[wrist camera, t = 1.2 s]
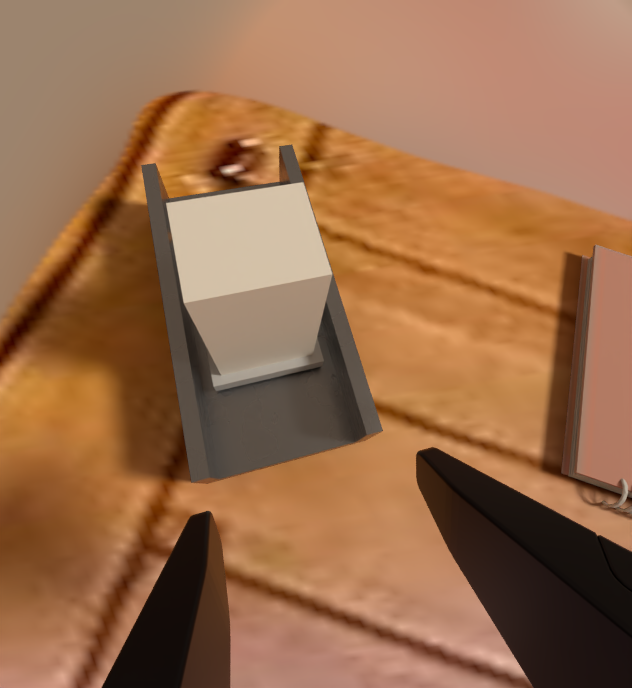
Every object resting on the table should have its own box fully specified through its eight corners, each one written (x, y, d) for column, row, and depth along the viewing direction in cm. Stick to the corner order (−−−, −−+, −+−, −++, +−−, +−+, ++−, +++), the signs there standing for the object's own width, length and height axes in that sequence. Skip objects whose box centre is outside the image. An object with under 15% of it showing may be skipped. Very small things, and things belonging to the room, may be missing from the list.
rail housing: (365, 440, 23) (382, 430, 19) (207, 483, 21) (191, 482, 17) (290, 190, 28) (292, 144, 24) (160, 210, 27) (141, 165, 23)
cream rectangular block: (322, 366, 23) (350, 284, 13) (216, 391, 22) (170, 320, 12) (300, 289, 24) (312, 169, 15) (201, 309, 23) (149, 194, 14)
